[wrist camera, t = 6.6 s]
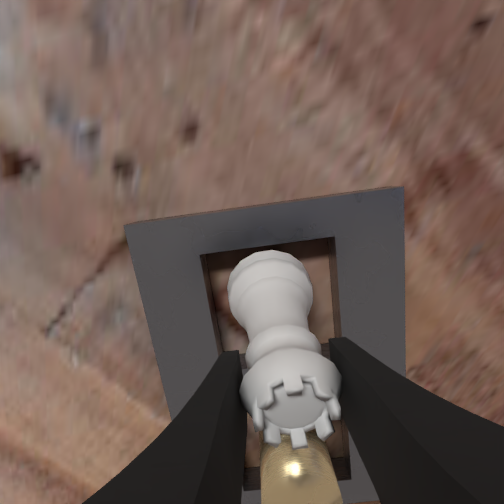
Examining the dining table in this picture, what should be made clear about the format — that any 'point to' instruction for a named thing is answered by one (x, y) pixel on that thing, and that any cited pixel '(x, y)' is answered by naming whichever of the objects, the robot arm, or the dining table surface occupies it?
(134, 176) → the dining table surface
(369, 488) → the bolt plate
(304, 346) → the rook chess piece
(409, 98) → the dining table surface
